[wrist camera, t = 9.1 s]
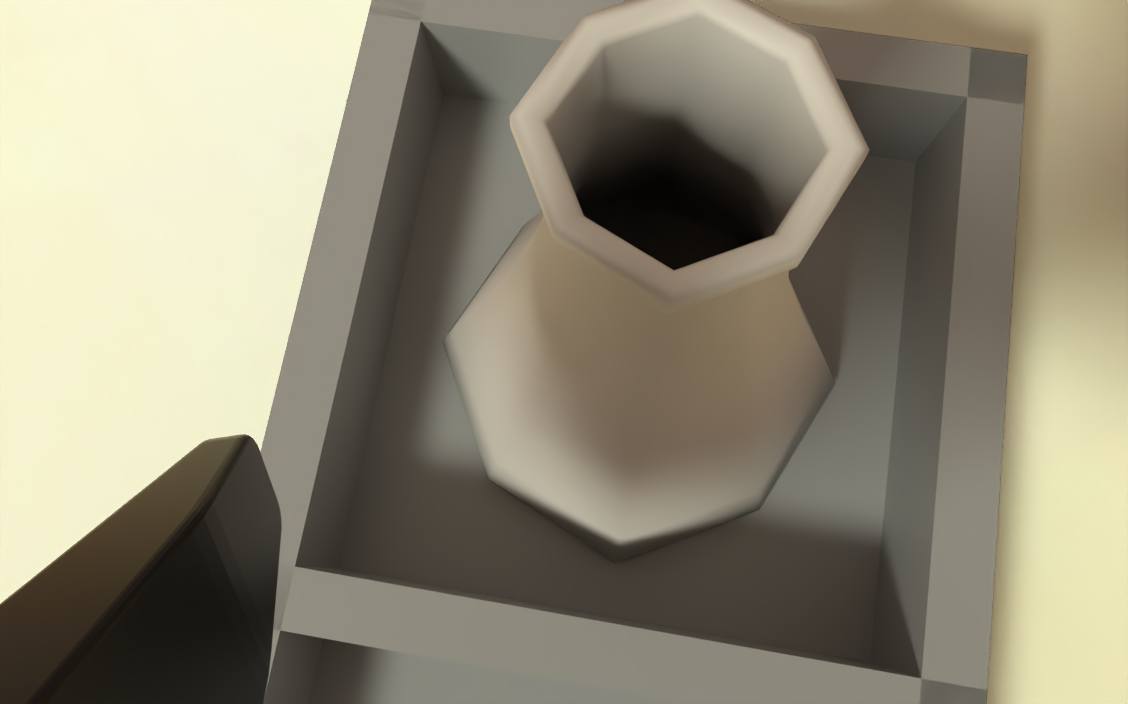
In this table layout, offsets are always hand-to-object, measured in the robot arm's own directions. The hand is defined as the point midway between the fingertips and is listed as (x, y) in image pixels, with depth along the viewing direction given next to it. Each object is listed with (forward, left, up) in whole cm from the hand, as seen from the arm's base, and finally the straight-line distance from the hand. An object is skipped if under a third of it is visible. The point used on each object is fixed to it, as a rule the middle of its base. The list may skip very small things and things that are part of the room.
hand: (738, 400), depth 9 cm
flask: (+2, +1, -10) cm, 10 cm away
